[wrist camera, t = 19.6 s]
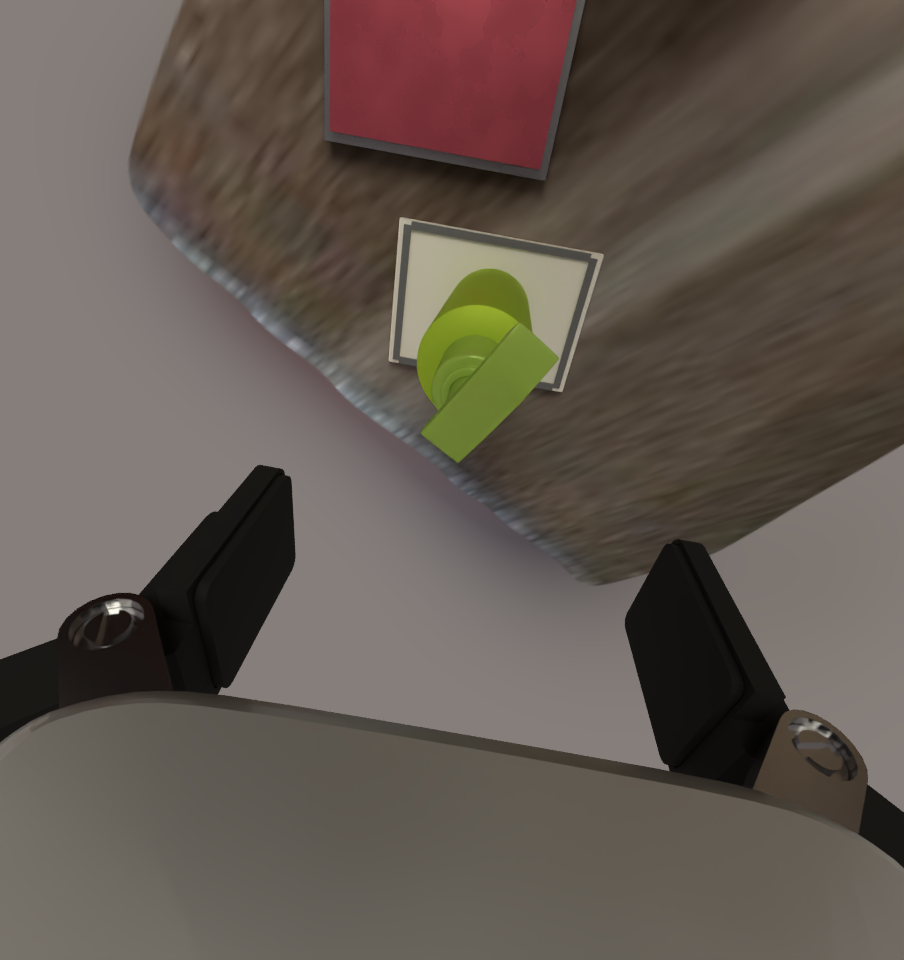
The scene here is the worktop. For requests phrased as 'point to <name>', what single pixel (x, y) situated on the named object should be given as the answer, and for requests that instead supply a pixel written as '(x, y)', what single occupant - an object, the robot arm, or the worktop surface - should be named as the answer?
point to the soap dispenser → (479, 360)
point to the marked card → (458, 252)
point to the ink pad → (450, 78)
